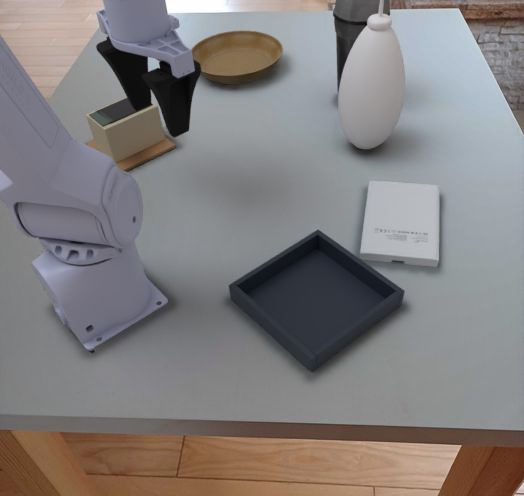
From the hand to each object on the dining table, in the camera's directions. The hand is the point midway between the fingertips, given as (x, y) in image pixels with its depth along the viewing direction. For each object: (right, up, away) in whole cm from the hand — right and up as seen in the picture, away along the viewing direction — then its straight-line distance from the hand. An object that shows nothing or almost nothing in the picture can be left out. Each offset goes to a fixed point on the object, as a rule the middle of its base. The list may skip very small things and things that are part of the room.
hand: (160, 119), depth 58 cm
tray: (+17, -21, -5) cm, 27 cm away
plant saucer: (+7, +19, +26) cm, 33 cm away
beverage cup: (+25, +10, +18) cm, 32 cm away
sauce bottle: (+25, +1, +11) cm, 27 cm away
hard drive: (+27, -12, +1) cm, 29 cm away
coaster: (-7, +2, +14) cm, 15 cm away
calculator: (-7, +3, +14) cm, 15 cm away
